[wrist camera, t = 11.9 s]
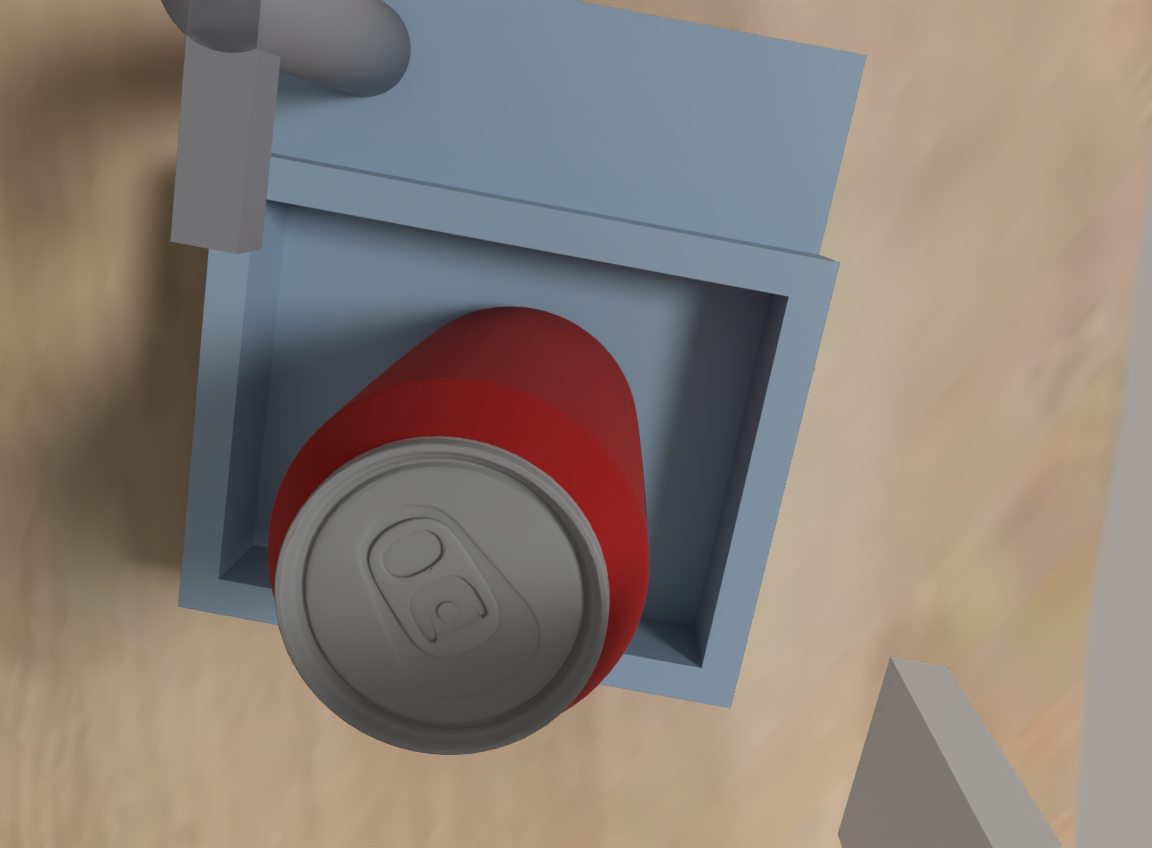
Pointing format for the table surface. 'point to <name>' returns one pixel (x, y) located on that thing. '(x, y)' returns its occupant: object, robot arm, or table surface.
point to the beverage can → (466, 536)
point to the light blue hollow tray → (512, 257)
